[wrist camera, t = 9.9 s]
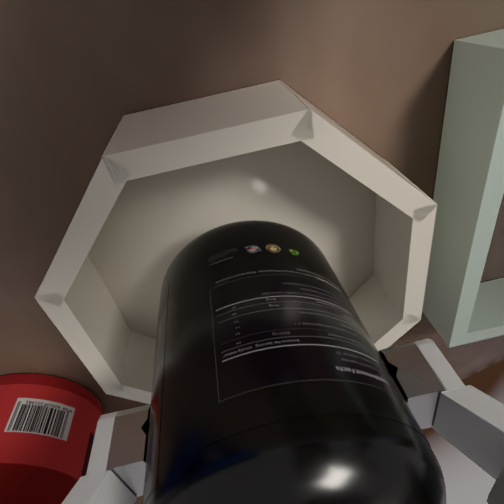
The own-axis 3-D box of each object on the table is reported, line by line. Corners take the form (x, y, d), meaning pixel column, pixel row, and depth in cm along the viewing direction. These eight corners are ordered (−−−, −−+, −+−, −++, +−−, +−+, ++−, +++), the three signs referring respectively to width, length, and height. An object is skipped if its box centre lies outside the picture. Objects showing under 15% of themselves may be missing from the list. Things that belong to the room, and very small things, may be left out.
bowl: (389, 54, 13) (456, 74, 10) (378, 316, 21) (413, 375, 18) (12, 140, 13) (-47, 189, 10) (147, 370, 21) (139, 440, 18)
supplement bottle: (306, 342, 17) (453, 776, 8) (160, 342, 16) (116, 870, 6) (350, 217, 14) (742, 761, 4) (163, 204, 12) (66, 987, 3)
